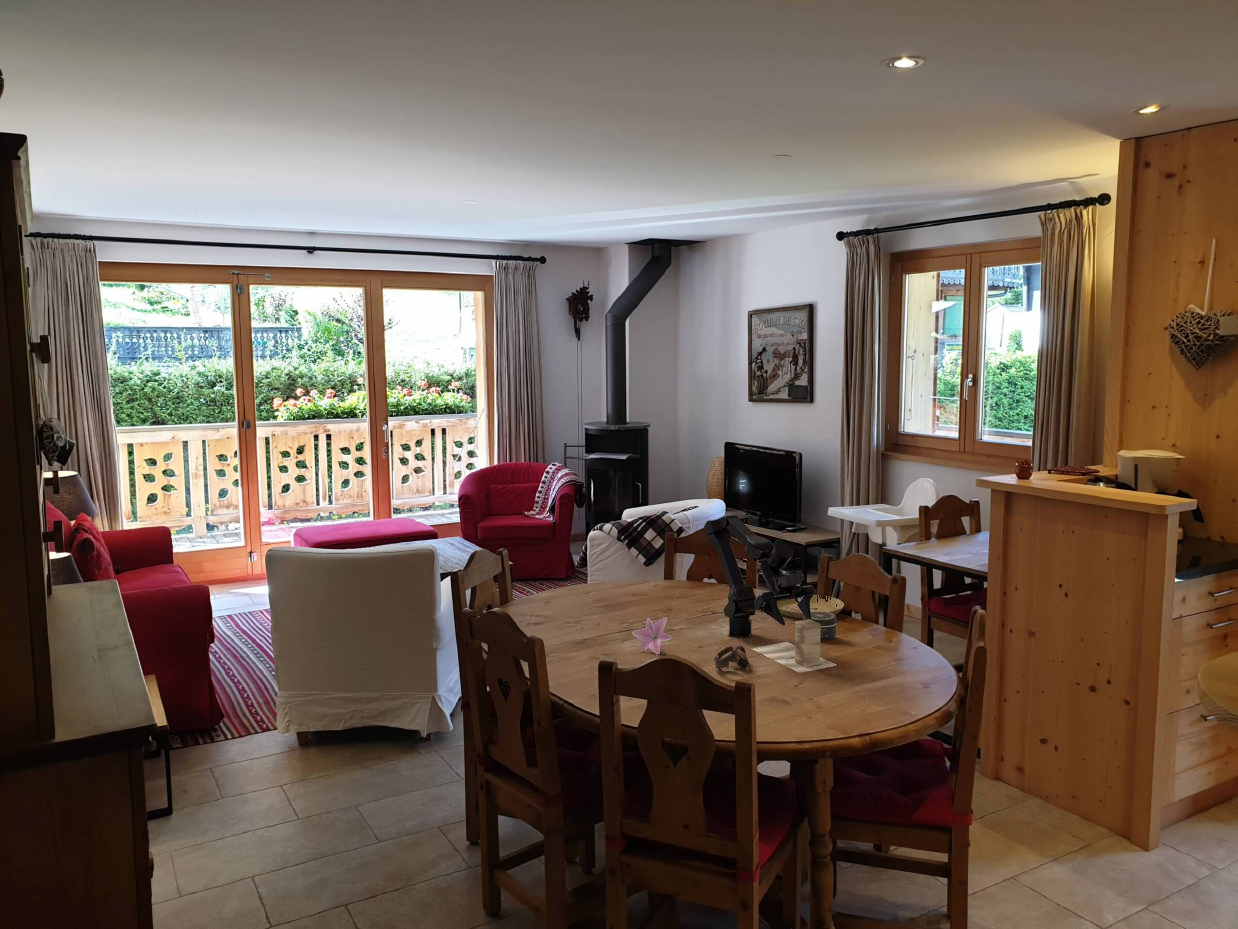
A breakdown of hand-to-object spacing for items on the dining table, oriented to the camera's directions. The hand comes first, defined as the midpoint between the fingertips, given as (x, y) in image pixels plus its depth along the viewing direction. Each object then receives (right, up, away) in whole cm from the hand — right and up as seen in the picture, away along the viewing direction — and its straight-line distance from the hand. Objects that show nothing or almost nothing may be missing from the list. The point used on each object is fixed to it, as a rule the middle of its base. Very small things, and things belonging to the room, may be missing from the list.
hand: (797, 622), depth 260 cm
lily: (-41, -11, +15) cm, 45 cm away
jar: (+11, -9, +22) cm, 27 cm away
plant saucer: (+14, -6, +52) cm, 54 cm away
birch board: (-1, -11, +3) cm, 12 cm away
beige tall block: (+2, -11, -3) cm, 12 cm away
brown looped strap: (-19, -13, -4) cm, 23 cm away
